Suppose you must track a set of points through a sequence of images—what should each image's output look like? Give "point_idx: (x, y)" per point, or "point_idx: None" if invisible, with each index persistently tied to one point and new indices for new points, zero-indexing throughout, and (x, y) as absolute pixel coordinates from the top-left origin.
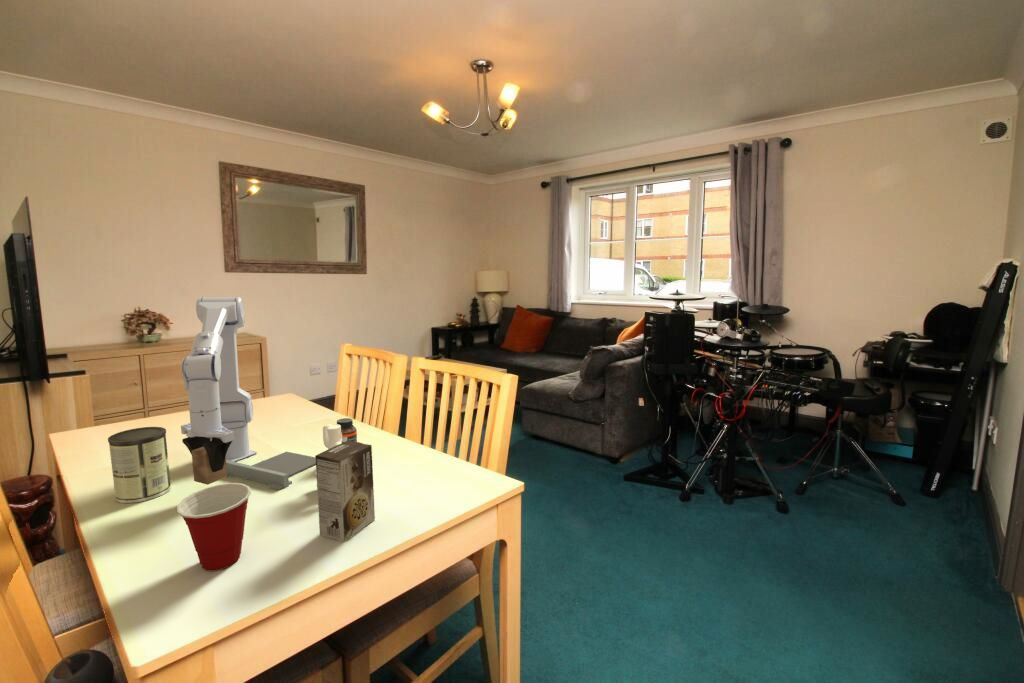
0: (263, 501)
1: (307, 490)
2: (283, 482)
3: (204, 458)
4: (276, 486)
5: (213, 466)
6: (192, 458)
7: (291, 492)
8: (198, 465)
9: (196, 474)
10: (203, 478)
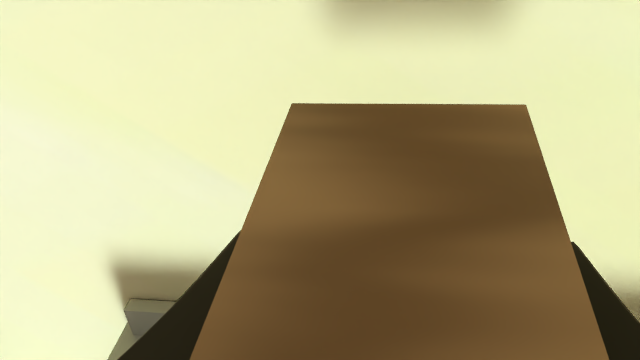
0: (43, 186)
1: (12, 333)
2: (120, 350)
3: (224, 336)
4: (146, 318)
5: (202, 275)
6: (582, 316)
7: (48, 300)
8: (416, 235)
9: (476, 151)
10: (346, 134)
